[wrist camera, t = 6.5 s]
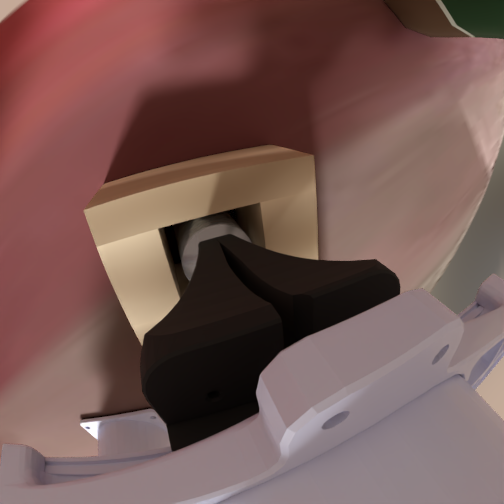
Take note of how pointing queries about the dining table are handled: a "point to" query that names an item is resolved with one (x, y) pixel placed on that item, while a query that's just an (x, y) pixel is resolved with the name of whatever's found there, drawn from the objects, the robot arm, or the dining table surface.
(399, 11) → the beer bottle
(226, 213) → the peg
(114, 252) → the socket block
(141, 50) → the dining table surface
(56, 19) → the dining table surface
